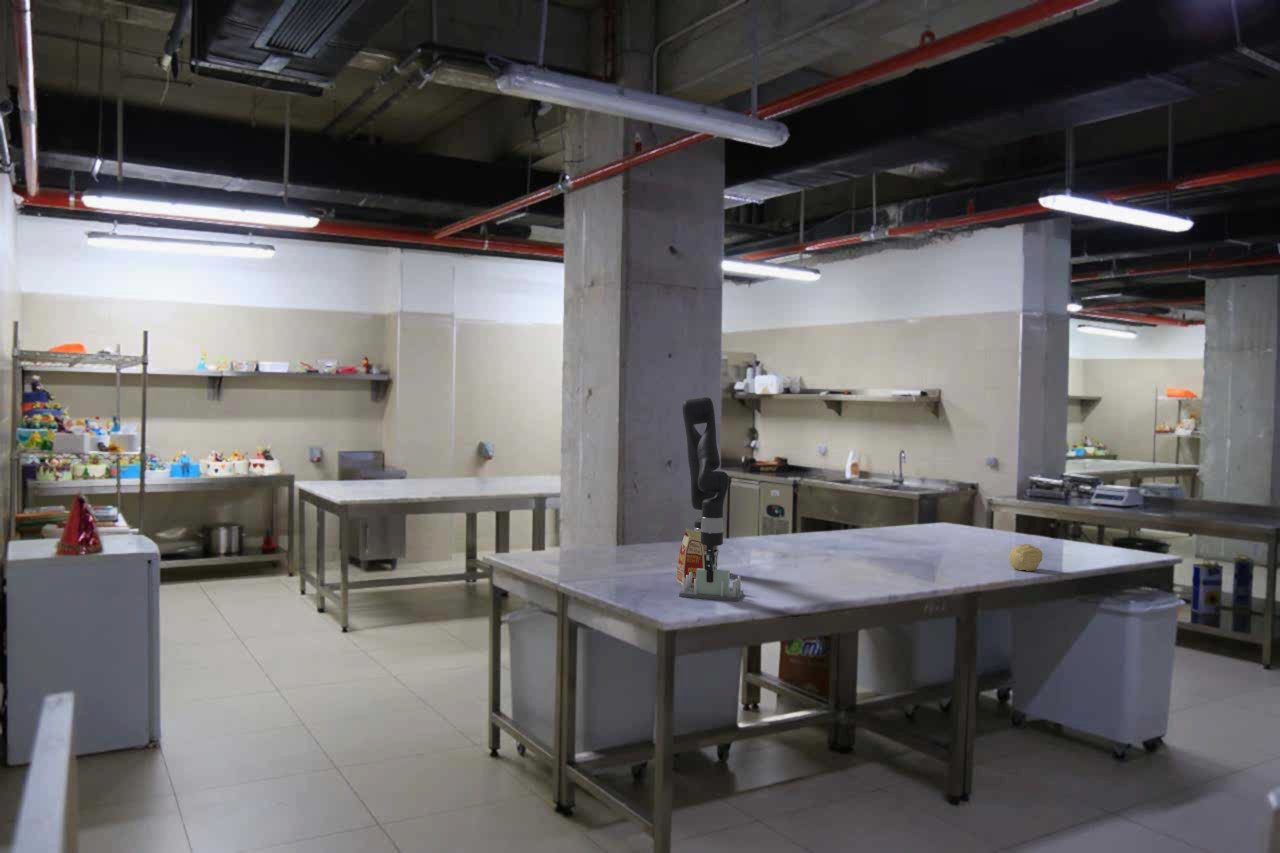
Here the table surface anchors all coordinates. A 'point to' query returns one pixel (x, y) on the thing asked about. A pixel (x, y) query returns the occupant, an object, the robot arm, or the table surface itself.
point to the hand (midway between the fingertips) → (710, 581)
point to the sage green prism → (715, 586)
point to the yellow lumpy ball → (1025, 557)
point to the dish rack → (692, 593)
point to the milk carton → (690, 555)
